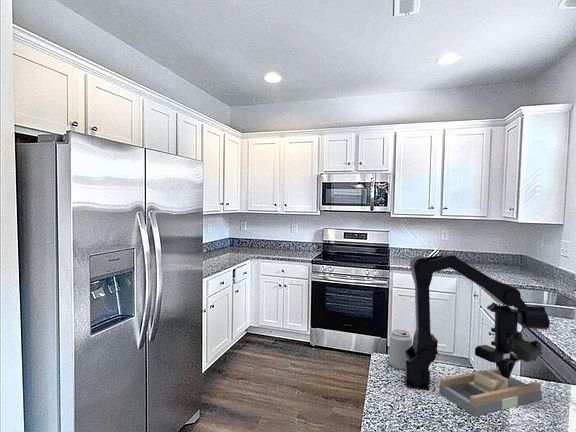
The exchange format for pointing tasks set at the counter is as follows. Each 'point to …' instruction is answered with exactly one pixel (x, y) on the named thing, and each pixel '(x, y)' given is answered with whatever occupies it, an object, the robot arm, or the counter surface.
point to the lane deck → (487, 394)
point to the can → (399, 348)
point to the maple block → (490, 381)
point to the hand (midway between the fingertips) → (505, 379)
